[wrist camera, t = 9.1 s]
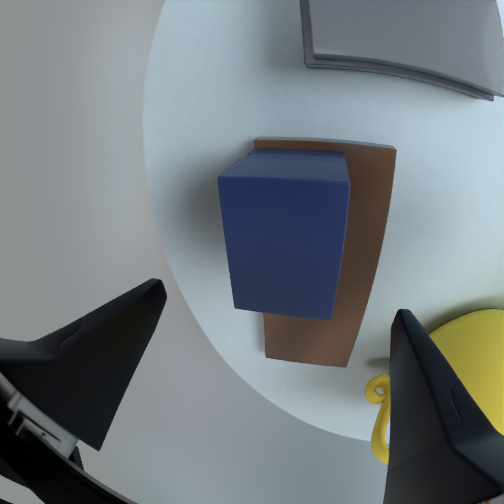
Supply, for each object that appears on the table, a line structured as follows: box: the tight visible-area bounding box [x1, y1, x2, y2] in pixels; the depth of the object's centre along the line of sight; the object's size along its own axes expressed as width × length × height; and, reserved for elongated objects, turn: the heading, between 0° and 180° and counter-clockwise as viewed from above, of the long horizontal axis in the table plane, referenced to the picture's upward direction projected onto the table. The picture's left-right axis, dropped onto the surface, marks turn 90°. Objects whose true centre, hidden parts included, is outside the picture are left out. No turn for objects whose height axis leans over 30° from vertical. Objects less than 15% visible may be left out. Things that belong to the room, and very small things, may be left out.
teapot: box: [365, 309, 504, 464], centre depth 15 cm, size 25×18×14 cm
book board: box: [254, 137, 396, 367], centre depth 19 cm, size 8×20×1 cm, turn 4°
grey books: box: [300, 0, 504, 101], centre depth 7 cm, size 11×8×3 cm
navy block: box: [218, 159, 351, 321], centre depth 13 cm, size 7×5×3 cm
